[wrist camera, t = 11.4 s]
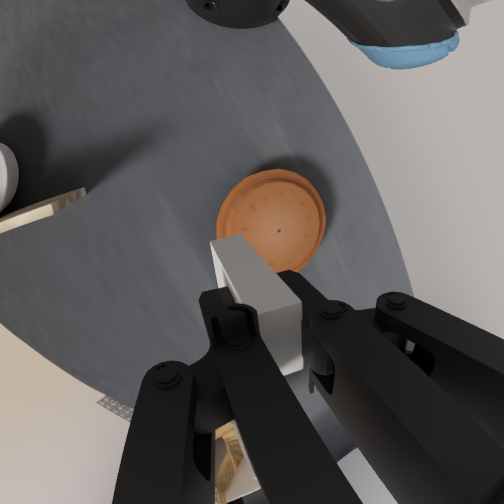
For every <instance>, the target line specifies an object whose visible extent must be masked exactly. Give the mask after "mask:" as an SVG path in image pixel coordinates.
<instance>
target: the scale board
mask: <svg viewBox="0 0 504 504" xmlns="http://www.w3.org/2000/svg"><path fill="white" fill-rule="evenodd" d="M84 195H86V191H85V187H83V188H80V189H77V190H74V191H70V192H67V193H64V194H61V195H58V196H55V197H52V198H49V199H46V200H43V201H40V202H38V203H35V204H32V205H29V206H27V207H24V208H22V209H19V210H16V211H14V212H11V213H9V214H4V215H2V216H0V233H2V232H5V231H8V230H10V229H13V228H16V227H18V226H21V225H24V224H27V223H30V222H32V221H35V220H38V219H41V218H44V217H47V216H50V215H53V214H55V213H57V212H58V211H60V210H61V209H63V208H65V207H66V206H68V205H69V204H71V203H73V202H74V201H76V200H78V199H79V198H81V197H83V196H84Z"/></svg>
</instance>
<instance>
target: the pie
mask: <svg viewBox="0 0 504 504" xmlns="http://www.w3.org/2000/svg"><path fill="white" fill-rule="evenodd" d="M325 224H326V215H325V210H324V204H323V202H322V200H321V198H320V196H319V194H318V192H317V191H316V189H315V188H314V187H313V186H312V185H311V183H310V182H309V181H308V180H307V179H306V178H304V177H302V176H301V175H299V174H297V173H296V172H293V171H289V170H284V169H280V168H277V169H271V170H266V171H261V172H258V173H255V174H253V175H250V176H247V177H245V178H244V179H243V180H242V181H241V182H240V183H238V184H237V185H236V186H235V187H234V188H233V189H232V190H231V192H230V193H229V195H228V196H227V198H226V199H225V200H224V202H223V203H222V206H221V209H220V213H219V216H218V219H217V239H221V238H226V237H230V236H235V235H240V234H241V236H242V237H243V238H244V239H245V240H246V241H247V242H248V243H249V244H250V245H251V246H252V248H253V249H254V250H255V251H256V252H257V253H258V254H259V255H260V256H261V257H262V259H263V260H264V261H265V262H266V263H267V264H268V265H269V266H270V267H271V268H272V269H273V271H274V272H275V273H278V272H281V271H285V270H292V271H294V272H299V271H300V270H301V269H302V268H303V267H304V266H305V265H306V264H307V263H308V262H309V261H310V260H311V259H312V257H313V256H314V254H315V253H316V251H317V250H318V248H319V245H320V243H321V240H322V238H323V235H324V230H325Z"/></svg>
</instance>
